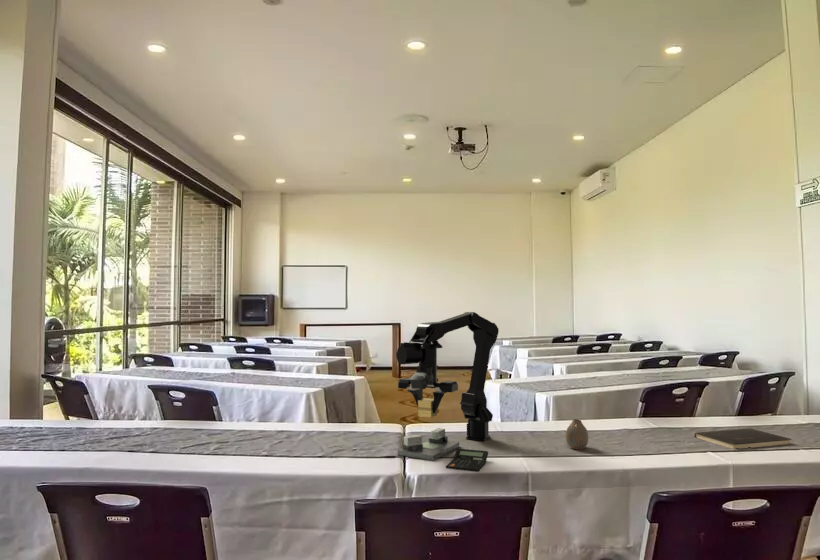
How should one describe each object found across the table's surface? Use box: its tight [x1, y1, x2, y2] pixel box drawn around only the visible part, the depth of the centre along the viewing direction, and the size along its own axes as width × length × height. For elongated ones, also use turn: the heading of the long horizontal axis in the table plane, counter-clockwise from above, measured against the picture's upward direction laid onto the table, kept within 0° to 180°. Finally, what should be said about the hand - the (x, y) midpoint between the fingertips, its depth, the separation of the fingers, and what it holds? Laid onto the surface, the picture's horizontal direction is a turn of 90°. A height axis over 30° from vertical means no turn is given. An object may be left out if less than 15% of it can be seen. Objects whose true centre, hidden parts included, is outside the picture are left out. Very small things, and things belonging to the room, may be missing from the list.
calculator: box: [445, 447, 489, 472], centre depth 157 cm, size 9×12×3 cm
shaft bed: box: [397, 427, 460, 462], centre depth 171 cm, size 12×18×5 cm, turn 150°
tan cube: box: [417, 397, 438, 418], centre depth 175 cm, size 5×5×5 cm
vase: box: [565, 418, 589, 450], centre depth 174 cm, size 7×7×9 cm
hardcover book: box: [694, 427, 792, 450], centre depth 182 cm, size 16×23×2 cm
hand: (427, 412), depth 175 cm, fingers closed on tan cube, 5 cm apart
